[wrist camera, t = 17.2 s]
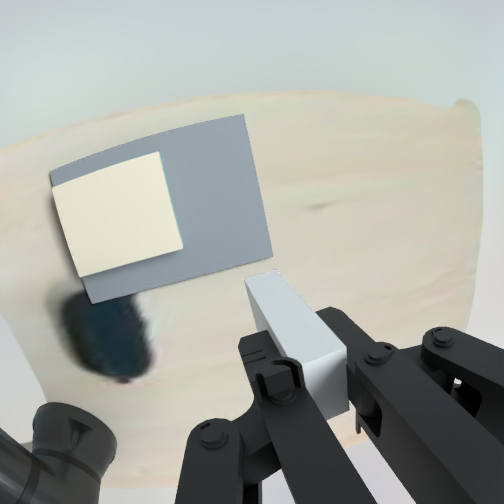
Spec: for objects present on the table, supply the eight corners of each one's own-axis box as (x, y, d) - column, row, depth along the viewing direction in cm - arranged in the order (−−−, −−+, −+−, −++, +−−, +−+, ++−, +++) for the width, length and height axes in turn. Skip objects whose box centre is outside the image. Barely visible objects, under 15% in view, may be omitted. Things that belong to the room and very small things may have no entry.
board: (183, 243, 32) (85, 271, 31) (160, 152, 29) (58, 186, 27) (183, 248, 30) (79, 277, 29) (157, 151, 27) (51, 187, 25)
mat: (93, 301, 32) (92, 303, 32) (51, 171, 27) (49, 171, 27) (271, 254, 35) (273, 256, 34) (242, 114, 30) (243, 113, 29)
